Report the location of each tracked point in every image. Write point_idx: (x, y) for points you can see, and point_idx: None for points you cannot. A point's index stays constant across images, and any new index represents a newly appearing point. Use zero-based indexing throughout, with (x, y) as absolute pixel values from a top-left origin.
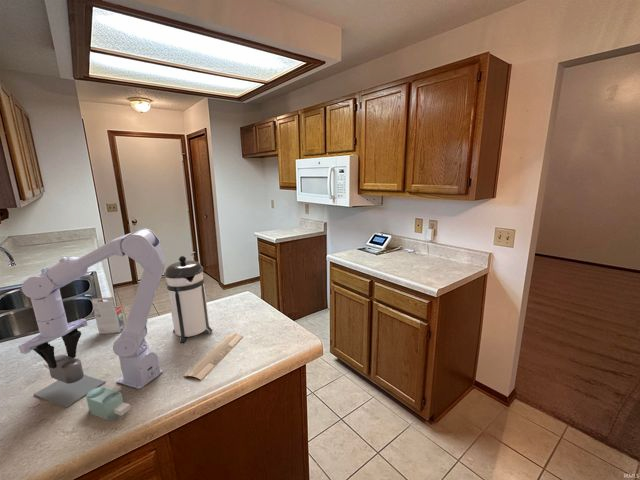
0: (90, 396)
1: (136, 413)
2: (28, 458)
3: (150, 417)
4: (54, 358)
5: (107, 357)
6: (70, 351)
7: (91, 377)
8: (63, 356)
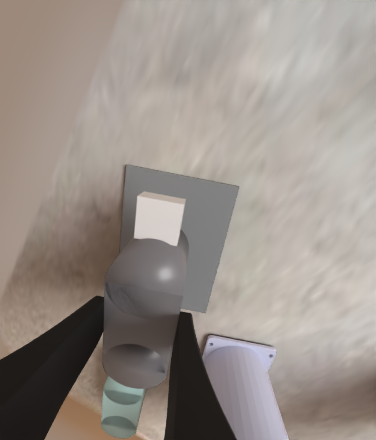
0: (109, 390)
1: None
2: (20, 327)
3: (138, 428)
4: (68, 389)
5: (324, 227)
6: (173, 365)
7: (216, 268)
8: (170, 297)
